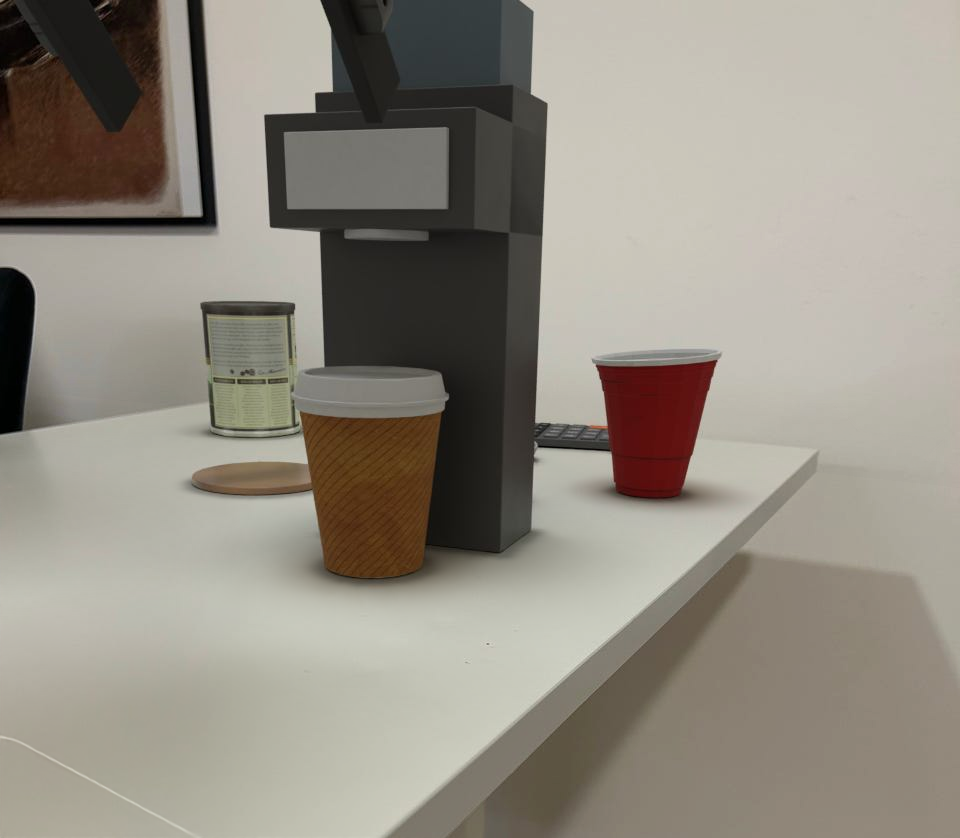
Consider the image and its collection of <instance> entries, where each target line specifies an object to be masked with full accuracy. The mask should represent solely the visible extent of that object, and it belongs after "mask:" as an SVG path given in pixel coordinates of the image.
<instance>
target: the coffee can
mask: <svg viewBox="0 0 960 838" xmlns="http://www.w3.org/2000/svg"><path fill="white" fill-rule="evenodd" d="M199 306H200V310H201V317H202V329H203V331H202V332H203V342H204V343H203V344H204V352H205V353H204V354H205V365H206V366H205V367H206V381H207V391H208V405H209V418H210V432H211V433H212V434H214V435H218V436H224V437H233V438H268V437H281V436H287V435H292V434H296V433H299V432H300V431H301V426H300V424H301V423H300V422H301V420H300V412H299V410H297V409H296V405H295V400H293V399H292V398H291V393H292V392H293V391H295V387H296V381H297V376H298V364H297V363H298V362H297V340H296V339H297V338H296V323H295V322H296V319H295V311H296V303H295V302H290V301H264V300H252V301H251V300H214V301H213V300H211V301H202V302H200V303H199Z"/></svg>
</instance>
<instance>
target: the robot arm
mask: <svg viewBox="0 0 960 838" xmlns="http://www.w3.org/2000/svg"><path fill="white" fill-rule="evenodd" d="M12 1H13V3H14V4H15V6H16V7H17V9H18V11H19V12H20V13H21V15H22V17H23V19H24V20H25V22H26V23H27V24H29V25H28V26H29V27H30V29H31V31H32V32H33V33H34V35H35V37H36V38H37V40H38V41H39V43H40V45H41V46H42V47H43V48H44V49H45V50H46V51H47V52H48V53H49V54H50V55H51V57H58V58H59V60H60V61H61V63H62V64H63V66H64V67H65V68H66V70H67V72H68V73H69V75H70V76H71V78H72V79H73V81H74V83H75V84H76V86H77V87H78V89H79V91H80V92H81V94H82V95H83V98H84V99H85V100H86V102H87V103H88V105H89V106H90V108H91V109H92V112H94V114H95V116H96V117H97V119H98V120H99V122H100V124H101V125H102V126H103V128H104V130H105V131H106V133H120V132H121V131H122V130H123V128H124V126H125V125H126V123H127V121H128V119H129V118H130V116H131V114H132V112H133V111H134V108H135V107H136V106H137V103H138V102H139V100H140V98H141V96H143V90H142V88H141V87H140V86H139V84H138V82H137V80H136V78H135V76H133V73H132V72H131V70H130V68H129V67H128V65H127V63H126V62H125V59H124V58H123V56H122V55H121V53H120V51H119V50H118V48H117V46H116V44H115V43H114V40H113V39H112V37H111V36H110V33H109V32H108V31H107V28H106V26H105V25H104V24H103V22H102V20H101V19H100V17H99V15H98V13H97V11H96V9H95V8H94V6H93V4H92V3H91V1H90V0H12ZM319 1H320V4H321V6H322V9H323V12H324V14H325V17H326V19H327V22H328V25H329V28H330V31H331V30H332V33H333V36H334V38H335V41H336V44H337V46H338V49H339V52H340V54H341V57H342V60H343V62H344V65H345V68H346V70H347V73H348V76H349V78H350V81H351V84H352V86H353V89H354V92H355V94H356V97H357V100H358V102H359V105H360V108H361V110H362V113H363V116H364V118H365V121H366V123H382V122H383V120H384V118H385V115H386V113H387V111H388V108H389V106H390V104H391V101H392V99H393V97H394V94H395V92H396V90H397V87H398V85H399V83H400V80H401V79H400V76H399V73H398V70H397V67H396V64H395V61H394V58H393V55H392V52H391V49H390V46H389V43H388V39H387V36H386V33H385V30H384V28H385V26H386V24H387V21H388V19H389V17H390V15H391V12H392V5H393V0H319Z"/></svg>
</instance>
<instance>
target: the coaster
mask: <svg viewBox="0 0 960 838" xmlns="http://www.w3.org/2000/svg"><path fill="white" fill-rule="evenodd" d="M191 482H192V485H193V486H194V487H195V488H197V489H201V490H204V491H206V492H212V493H219V494H226V495H227V494H229V495H241V496H242V495H245V496H250V495H251V496H254V495H255V496H257V495H258V496H262V495H282V494H291V493H299V492H305V491H310V490H312V484H311V478H310V472H309V466H308V463H300V462H291V461H290V462H289V461H245V462H233V463H226V464H218V465H213V466H209V467H205V468H202V469H199V470H197V471H195V472H194V473H192V475H191Z"/></svg>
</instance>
